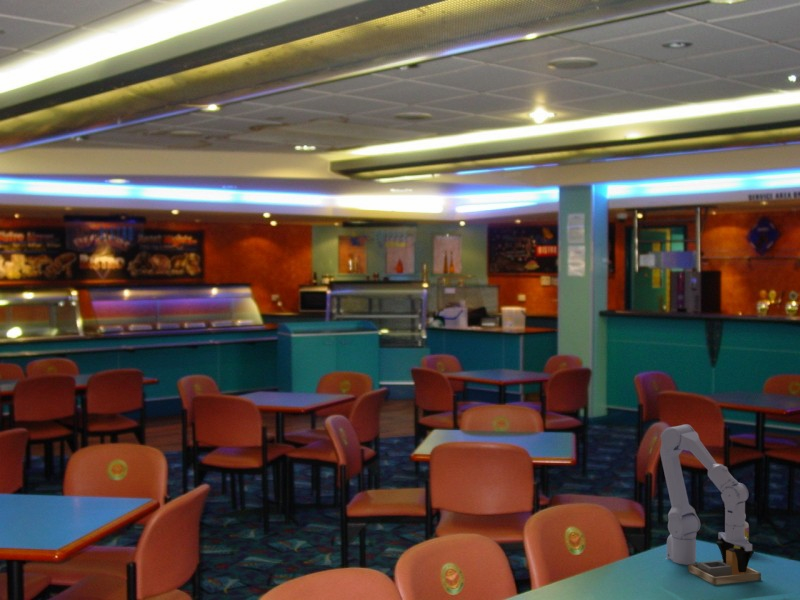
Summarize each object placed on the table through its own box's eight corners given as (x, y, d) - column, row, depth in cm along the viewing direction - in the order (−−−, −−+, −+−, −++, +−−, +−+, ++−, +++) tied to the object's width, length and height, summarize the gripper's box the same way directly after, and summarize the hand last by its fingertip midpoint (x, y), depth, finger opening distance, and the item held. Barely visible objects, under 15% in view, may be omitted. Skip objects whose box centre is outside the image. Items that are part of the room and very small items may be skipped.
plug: (726, 572, 307) (726, 548, 307) (737, 571, 308) (737, 547, 308) (732, 575, 304) (732, 551, 304) (743, 574, 305) (743, 549, 305)
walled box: (687, 574, 310) (687, 564, 309) (733, 569, 314) (733, 559, 314) (714, 588, 296) (714, 578, 296) (760, 583, 300) (760, 573, 300)
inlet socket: (698, 573, 306) (698, 562, 306) (719, 571, 309) (719, 560, 308) (710, 580, 300) (710, 568, 300) (731, 577, 302) (731, 566, 302)
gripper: (761, 528, 300) (760, 573, 300) (732, 517, 314) (732, 560, 314) (740, 530, 298) (740, 576, 298) (712, 519, 312) (712, 562, 312)
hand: (734, 568), depth 306 cm, fingers open, 7 cm apart
